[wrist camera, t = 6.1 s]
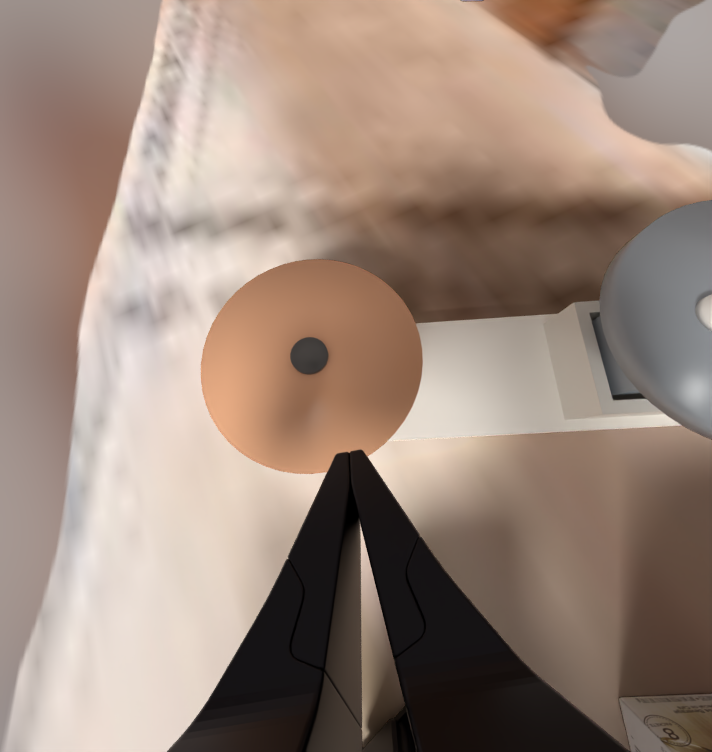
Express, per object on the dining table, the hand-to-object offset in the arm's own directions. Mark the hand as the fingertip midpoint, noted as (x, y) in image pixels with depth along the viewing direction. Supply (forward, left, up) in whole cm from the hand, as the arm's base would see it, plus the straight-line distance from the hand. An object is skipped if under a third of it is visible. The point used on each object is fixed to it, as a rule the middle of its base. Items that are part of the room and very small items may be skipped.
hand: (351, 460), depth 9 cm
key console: (-1, -10, -14) cm, 17 cm away
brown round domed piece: (+6, -2, -11) cm, 13 cm away
